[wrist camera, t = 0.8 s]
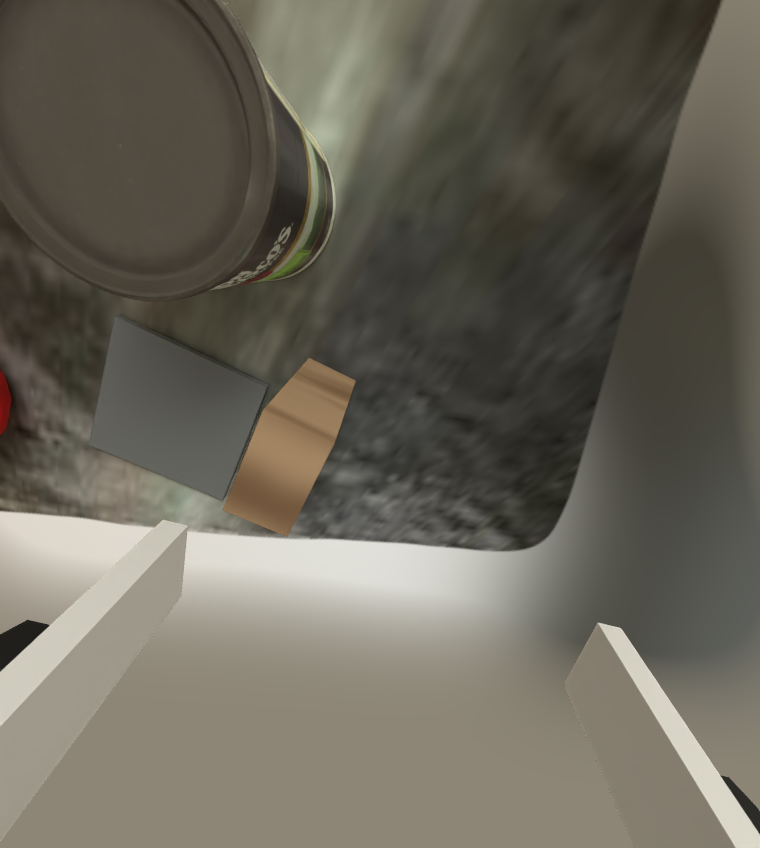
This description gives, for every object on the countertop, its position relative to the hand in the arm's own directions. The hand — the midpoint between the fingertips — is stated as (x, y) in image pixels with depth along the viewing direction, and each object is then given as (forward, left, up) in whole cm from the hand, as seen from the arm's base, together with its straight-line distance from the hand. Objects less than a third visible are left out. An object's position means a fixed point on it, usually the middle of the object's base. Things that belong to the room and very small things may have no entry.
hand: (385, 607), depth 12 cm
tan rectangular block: (+4, -5, -20) cm, 21 cm away
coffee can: (-8, -14, -20) cm, 26 cm away
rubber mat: (+10, -15, -20) cm, 27 cm away
